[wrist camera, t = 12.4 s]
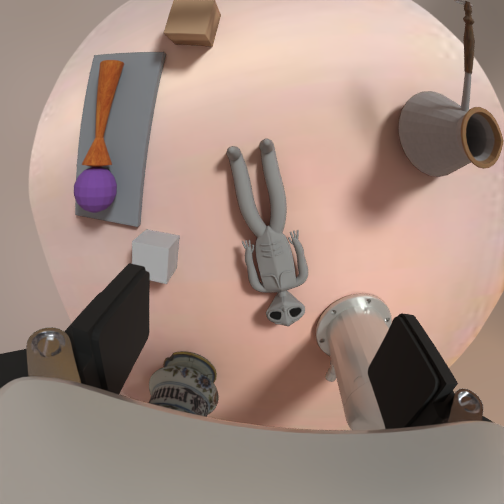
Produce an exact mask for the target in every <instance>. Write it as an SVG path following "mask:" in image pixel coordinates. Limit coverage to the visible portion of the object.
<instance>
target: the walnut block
mask: <svg viewBox="0 0 504 504" xmlns="http://www.w3.org/2000/svg"><path fill="white" fill-rule="evenodd" d="M220 17H221V14H220V12H219V9H218V7H217V4H216V2H215V0H174V1H173V4H172V7H171V10H170V14H169V17H168V20H167V23H166V27H165V30H164V34H165V35H166V36H167V37H168V38H169V39H170V40H171V41H173V42H174V43H175V44H176V45H199V46H213V43H214V39H215V35H216V32H217V28H218V24H219V20H220Z"/></svg>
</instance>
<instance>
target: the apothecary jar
mask: <svg viewBox="0 0 504 504" xmlns="http://www.w3.org/2000/svg"><path fill="white" fill-rule="evenodd" d="M215 380H216V370H215V368H214V366H213V365H212V364H211V363H210V362H209V361H208V360H207V359H205V358H204V357H202V356H200V355H197V354H195V353H191V352H175V353H173V355H172V356H171V357H170V358H166V359H165V361H164V368H161V369H159V370H157V371H156V372H155V373H154V374H153V375H152V376H151V378H150V381H149V390H150V394H151V399H150V401H149V403H150V404H154V405H157V406H161V407H165V408H170V409H174V410H178V411H182V412H186V413H191V414H195V415H200V416H205V417H207V415H208V414H210V413H211V412H212V411H213V410H214V409H215V408H216V406H217V403H218V391H217V389H216V387H215V385H214V384H213V383H214V382H215Z"/></svg>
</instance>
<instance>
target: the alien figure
mask: <svg viewBox="0 0 504 504" xmlns="http://www.w3.org/2000/svg"><path fill="white" fill-rule="evenodd" d="M259 146H260V149H261V157H262V165H263V171H264V176H265V180H266V184H267V188H268V193H269V197H270V204H271V219H270V225H269V226H266V225H265V223H264V222H263V220H262V219H261V217H260V215H259V213H258V211H257V208H256V205H255V202H254V198H253V193H252V188H251V183H250V178H249V174H248V170H247V167H246V164H245V161H244V158H243V156H242V154H241V151H240V149H239V148H238V147H234V146H231V147H229V148H228V149H227V156H228V158H229V161H230V165H231V169H232V174H233V179H234V184H235V189H236V195H237V200H238V204H239V207H240V210H241V213H242V215H243V218H244V220H245V222H246V223H247V225H248V227H249V228H250V230H251V231H252V232H253V233H254V234H255V235H256V237H257V240H256V246H255V249H256V258H257V263H258V267H259V272H260V275H261V279H262V282H263V283H261V282H260V281H259V279H258V275H257V272H256V269H255V266H254V263H253V258H252V252H253V250H254V245H252V249H251V244H250V240H249V246H248V244H247V240H245V243H246V246H245V244H244V242H243V241H242V244H243V246H244V248H245V249H246V251H245V262H246V265H247V270H248V277H249V281H250V284H251V286H252V287H253V288H254V289H255V290H256V291H259V292H278V293H277V295H276V296H275V298H274V300H273V301H272V303H271V305H270V306H269V308H268V310H267V312H266V315H267V318H268V319H269V320H270V321H271V322H273V323H275V324H281V325H285V326H290V325H291V324H293V323H294V322H296V321H298V320H299V319H300V318H301V317H302V316H303V315H304V313H305V307H304V305H303V304H302V303H301V302H300V301H298V300H297V299H296V298H295V297H294V296H293V295H292V294H290V293H289V292H288V291H287V290H289V289H292V288H295V287H298V286H300V285H302V284H303V283H304V282H305V281H306V279H307V277H308V267H307V263H306V260H305V256H304V250H303V247H302V245H301V243H300V242H299V240H298V233H299V230H297V236H296V234H295V231H293V233H294V238H293V235H292V232H290V235H291V238H292V241H291V240H290V237H289V238H288V239H289V241H290V243H291V244H293V245H294V248H295V251H296V254H297V263H298V271H299V275H298V276H297V277H296V275H295V267H294V261H293V256H292V252H291V248H290V245H289V242H288V240H287V238H286V236H285V235H284V234H283V233H282V232H283V229H284V225H285V221H286V196H285V191H284V186H283V182H282V179H281V175H280V171H279V167H278V162H277V158H276V153H275V148H274V144H273V142H272V141H271V140H269V139H264V140H262V141H261V142H260V144H259ZM246 247H247V248H246Z"/></svg>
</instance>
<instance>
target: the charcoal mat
mask: <svg viewBox="0 0 504 504" xmlns="http://www.w3.org/2000/svg"><path fill="white" fill-rule="evenodd" d="M165 56H166V54H165V53H164V52H135V53H116V54H104V55H94V58H93V62H92V67H91V71H90V76H89V80H88V85H87V90H86V96H85V102H84V108H83V114H82V121H81V129H80V137H79V147H78V159H77V174H76V180H77V177H78V176H79V175H80V174H81V173H82V172H83V171H84V170H86V169H88V168H90V167H91V166H86V165H82V162H83V160H84V158H85V156H86V155H87V153H88V151H89V149H90V147H91V145H92V143H93V141H94V139H95V131H96V104H97V90H98V78H99V68H100V62H101V61H104V60H118V61H121V62H123V63H124V66H123V69H122V72H121V75H120V78H119V81H118V85H117V88H116V91H115V95H114V98H113V102H112V105H111V109H110V113H109V116H108V120H107V124H106V129H105V133H104V137H103V138H104V141H105V144H106V147H107V151H108V154H109V156H110V159H111V162H112V165H108V166H102V167H103V168H105V169H107V170H109V171H110V172H111V173H112V174H113V176H114V177H115V180H116V183H117V194H116V196H115V198H114V200H113V202H112V204H111V205H110V206H109V207H108V208H107V209H105V210H102V211H100V212H97V213H92V212H89V211H86V210H83V209H82V208H81V207H80V206H79V204H78V203H77V202H76V215H79V216H84V217H89V218H94V219H100V220H105V221H110V222H115V223H120V224H125V225H131V226H136V227H138V226H139V225H140V224H141V209H142V197H143V186H144V177H145V168H146V160H147V152H148V145H149V138H150V131H151V125H152V119H153V113H154V108H155V102H156V97H157V92H158V87H159V82H160V78H161V73H162V69H163V65H164V60H165Z"/></svg>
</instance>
